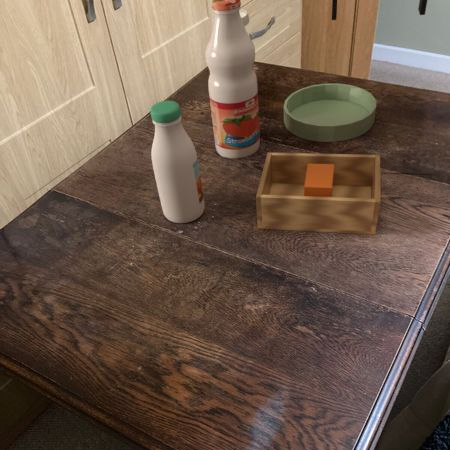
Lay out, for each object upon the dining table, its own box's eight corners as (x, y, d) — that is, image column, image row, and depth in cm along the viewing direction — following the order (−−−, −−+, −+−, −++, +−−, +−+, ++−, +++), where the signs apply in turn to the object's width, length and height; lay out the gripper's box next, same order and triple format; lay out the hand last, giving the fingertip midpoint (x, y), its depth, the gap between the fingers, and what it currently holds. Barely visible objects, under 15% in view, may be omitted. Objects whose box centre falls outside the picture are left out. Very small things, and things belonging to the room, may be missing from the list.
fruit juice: (242, 132, 108) (231, -14, 88) (269, 148, 102) (265, -4, 82) (207, 148, 105) (187, 1, 84) (233, 166, 99) (219, 12, 79)
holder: (375, 186, 90) (380, 154, 85) (375, 234, 81) (380, 202, 76) (268, 183, 94) (267, 152, 89) (257, 228, 85) (255, 196, 80)
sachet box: (331, 193, 89) (334, 164, 85) (329, 217, 84) (332, 187, 80) (306, 192, 90) (307, 163, 85) (303, 216, 85) (304, 186, 81)
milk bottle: (196, 227, 87) (177, 120, 72) (157, 221, 89) (131, 116, 75) (211, 201, 92) (196, 96, 77) (173, 196, 94) (152, 93, 79)
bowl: (373, 100, 112) (376, 83, 109) (373, 144, 100) (376, 126, 97) (289, 100, 116) (289, 83, 113) (279, 143, 103) (278, 125, 101)
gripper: (297, -149, 64) (297, 27, 80) (506, -175, 59) (463, 18, 75) (301, -156, 69) (300, 11, 84) (494, -181, 64) (456, 1, 80)
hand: (377, 14), depth 80 cm, fingers open, 13 cm apart
